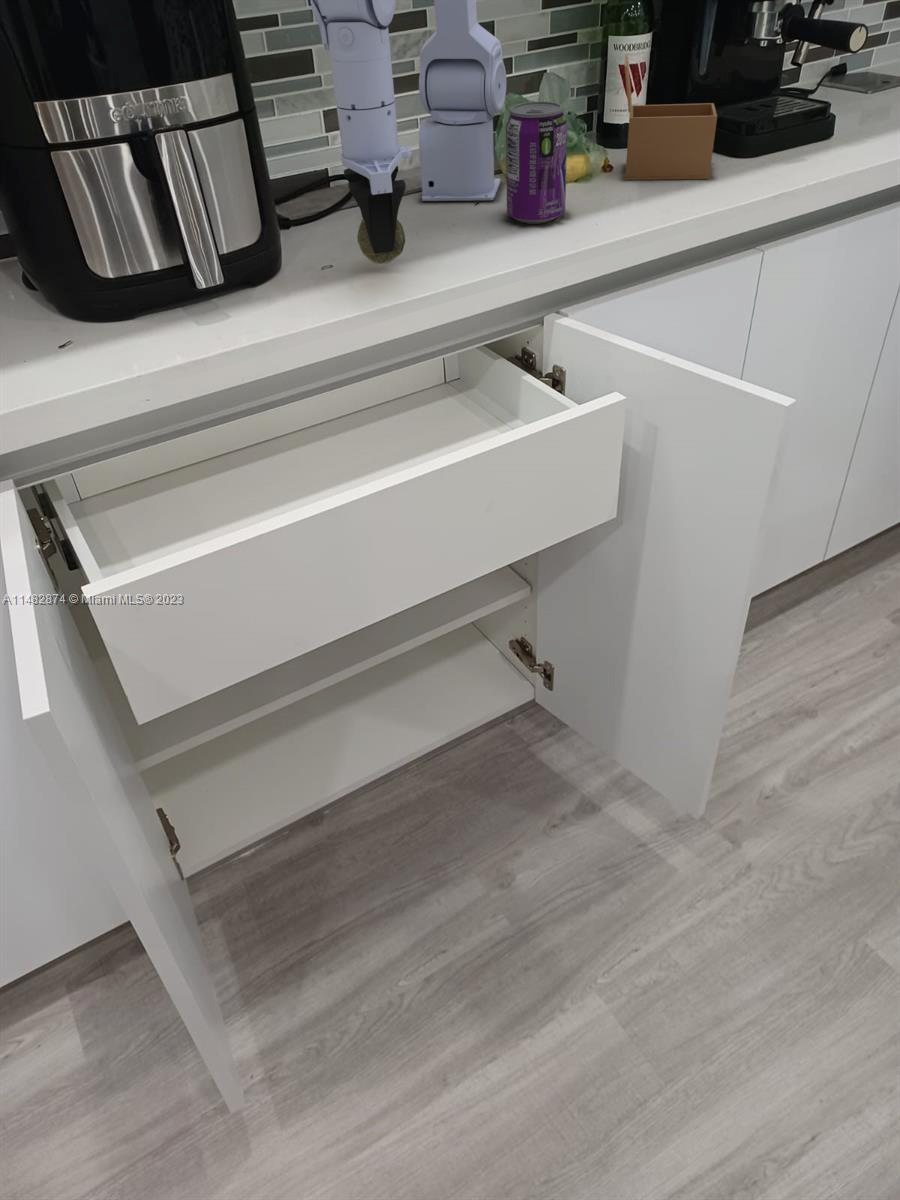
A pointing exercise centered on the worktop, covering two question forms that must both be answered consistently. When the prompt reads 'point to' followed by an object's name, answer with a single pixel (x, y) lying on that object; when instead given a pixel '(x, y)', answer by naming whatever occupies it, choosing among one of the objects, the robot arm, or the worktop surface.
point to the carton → (670, 141)
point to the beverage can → (536, 161)
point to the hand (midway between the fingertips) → (381, 245)
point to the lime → (380, 257)
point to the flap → (628, 83)
